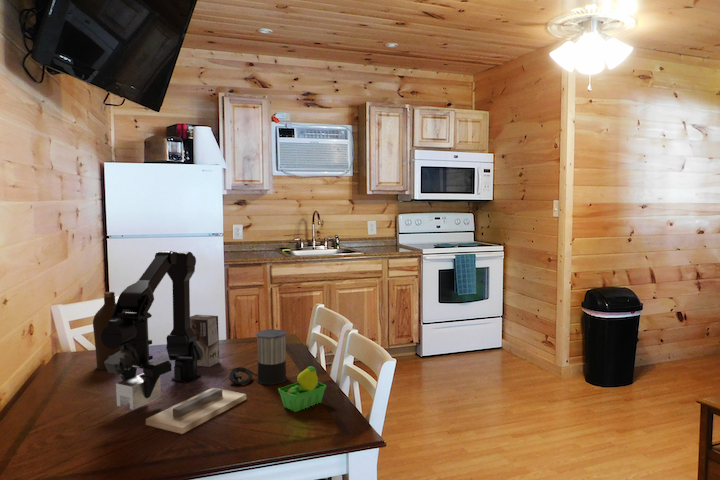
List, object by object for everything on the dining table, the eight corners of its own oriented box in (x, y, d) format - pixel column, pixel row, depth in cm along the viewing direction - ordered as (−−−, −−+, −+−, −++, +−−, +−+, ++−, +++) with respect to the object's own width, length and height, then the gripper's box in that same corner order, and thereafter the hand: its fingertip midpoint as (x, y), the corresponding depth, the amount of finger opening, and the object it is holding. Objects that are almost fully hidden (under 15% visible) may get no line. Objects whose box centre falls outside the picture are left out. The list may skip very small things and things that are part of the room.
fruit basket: (310, 395, 148) (309, 356, 147) (330, 404, 142) (330, 363, 141) (277, 407, 140) (276, 365, 139) (297, 416, 134) (296, 373, 133)
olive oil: (91, 372, 170) (87, 296, 168) (99, 362, 181) (96, 290, 179) (126, 369, 172) (122, 294, 171) (132, 360, 183) (129, 289, 181)
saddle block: (144, 394, 144) (144, 372, 143) (160, 397, 141) (160, 375, 141) (117, 405, 136) (115, 383, 135) (133, 409, 133) (132, 386, 133)
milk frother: (293, 379, 161) (292, 332, 160) (250, 393, 150) (249, 342, 149) (265, 369, 171) (264, 325, 170) (223, 382, 160) (222, 334, 159)
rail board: (212, 392, 151) (212, 380, 151) (246, 399, 146) (246, 387, 145) (145, 424, 129) (145, 411, 129) (182, 434, 124) (181, 419, 124)
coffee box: (220, 361, 180) (219, 315, 179) (209, 367, 174) (207, 319, 173) (198, 359, 183) (196, 313, 182) (186, 365, 177) (184, 317, 176)
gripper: (84, 341, 134) (87, 400, 135) (136, 350, 126) (139, 413, 127) (121, 331, 144) (124, 386, 145) (171, 339, 136) (174, 397, 137)
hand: (139, 395), depth 138 cm, fingers closed on saddle block, 6 cm apart
